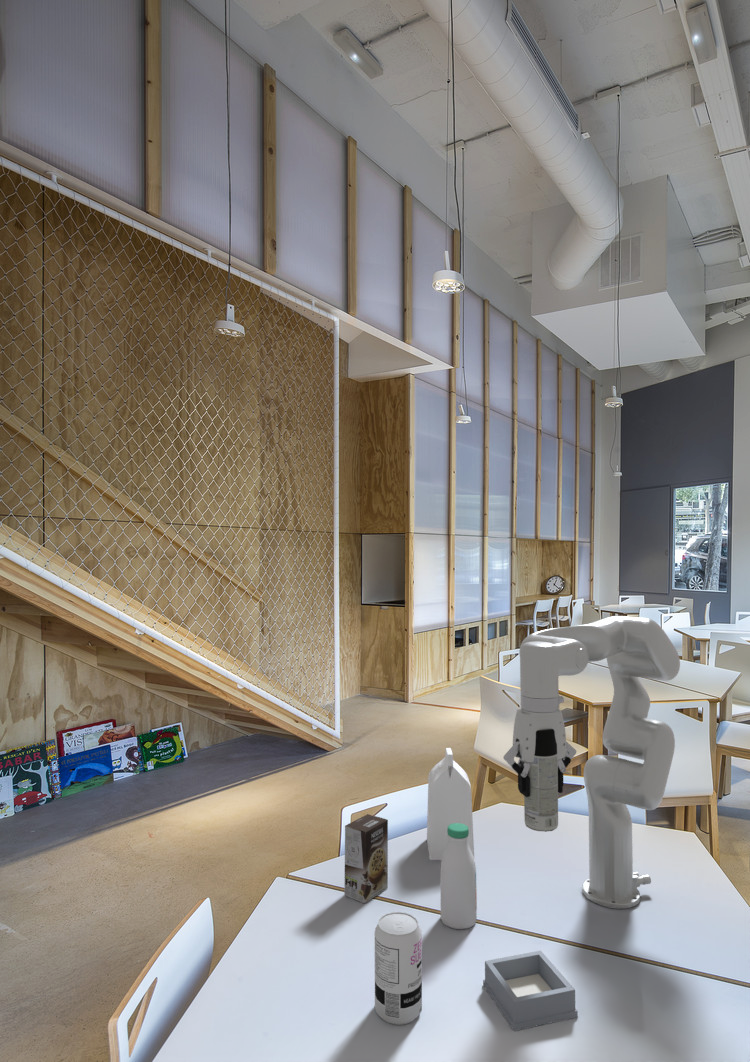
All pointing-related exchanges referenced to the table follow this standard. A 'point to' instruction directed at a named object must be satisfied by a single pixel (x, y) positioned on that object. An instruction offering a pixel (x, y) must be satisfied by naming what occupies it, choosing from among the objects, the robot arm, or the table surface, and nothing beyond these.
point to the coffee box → (366, 857)
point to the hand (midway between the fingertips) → (540, 791)
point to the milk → (447, 804)
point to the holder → (529, 990)
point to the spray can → (543, 784)
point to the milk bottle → (458, 880)
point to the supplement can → (398, 968)
